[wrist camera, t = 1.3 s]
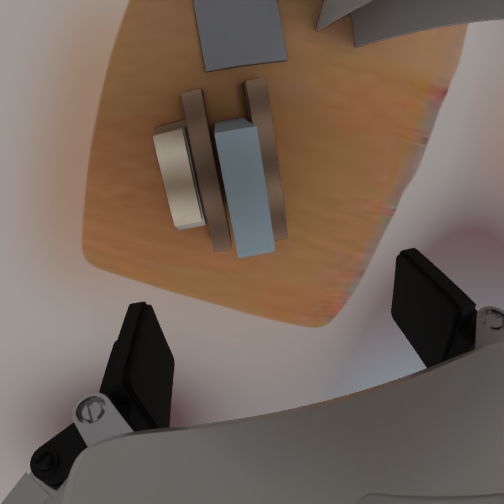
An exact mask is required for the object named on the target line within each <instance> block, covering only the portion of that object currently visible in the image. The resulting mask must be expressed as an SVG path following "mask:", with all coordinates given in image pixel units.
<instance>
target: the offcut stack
mask: <svg viewBox="0 0 504 504" xmlns="http://www.w3.org/2000/svg"><path fill="white" fill-rule="evenodd" d="M155 130H156V135H154V136H153V139H154V144H155V148H156V153H157V157H158V161H159V166H160V170H161V174H162V178H163V182H164V186H165V190H166V194H167V198H168V202H169V206H170V210H171V214H172V217H173V221H174V225H175V227H176V226H177V228H178V230H183V229H188V228H193V227H197V226H202V225H206V221H207V216H206V212H205V207H204V203H203V198H202V194H201V189H200V185H199V180H198V175H197V171H196V166H195V161H194V156H193V152H192V147H191V142H190V137H189V132H188V127H187V122H186V120H182V121H178V122H174V123H169V124H165V125H161V126H157V127H155Z"/></svg>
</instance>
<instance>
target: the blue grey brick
mask: <svg viewBox="0 0 504 504" xmlns="http://www.w3.org/2000/svg"><path fill="white" fill-rule="evenodd" d="M214 135H215V140H216V145H217V151H218V156H219V161H220V166H221V171H222V177H223V182H224V187H225V192H226V197H227V202H228V208H229V213H230V218H231V223H232V228H233V233H234V238H235V243H236V248H237V253H238V258H243V257H248V256H254V255H259V254H264V253H269V252H275V245H274V238H273V231H272V224H271V217H270V210H269V203H268V196H267V190H266V183H265V176H264V170H263V163H262V157H261V150H260V144H259V138H258V131H257V126H256V125H254V124H252V123H250V122H249V121H247V120H245V119H243V118H236V119H230V120H225V121H219V122H215V131H214Z"/></svg>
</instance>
